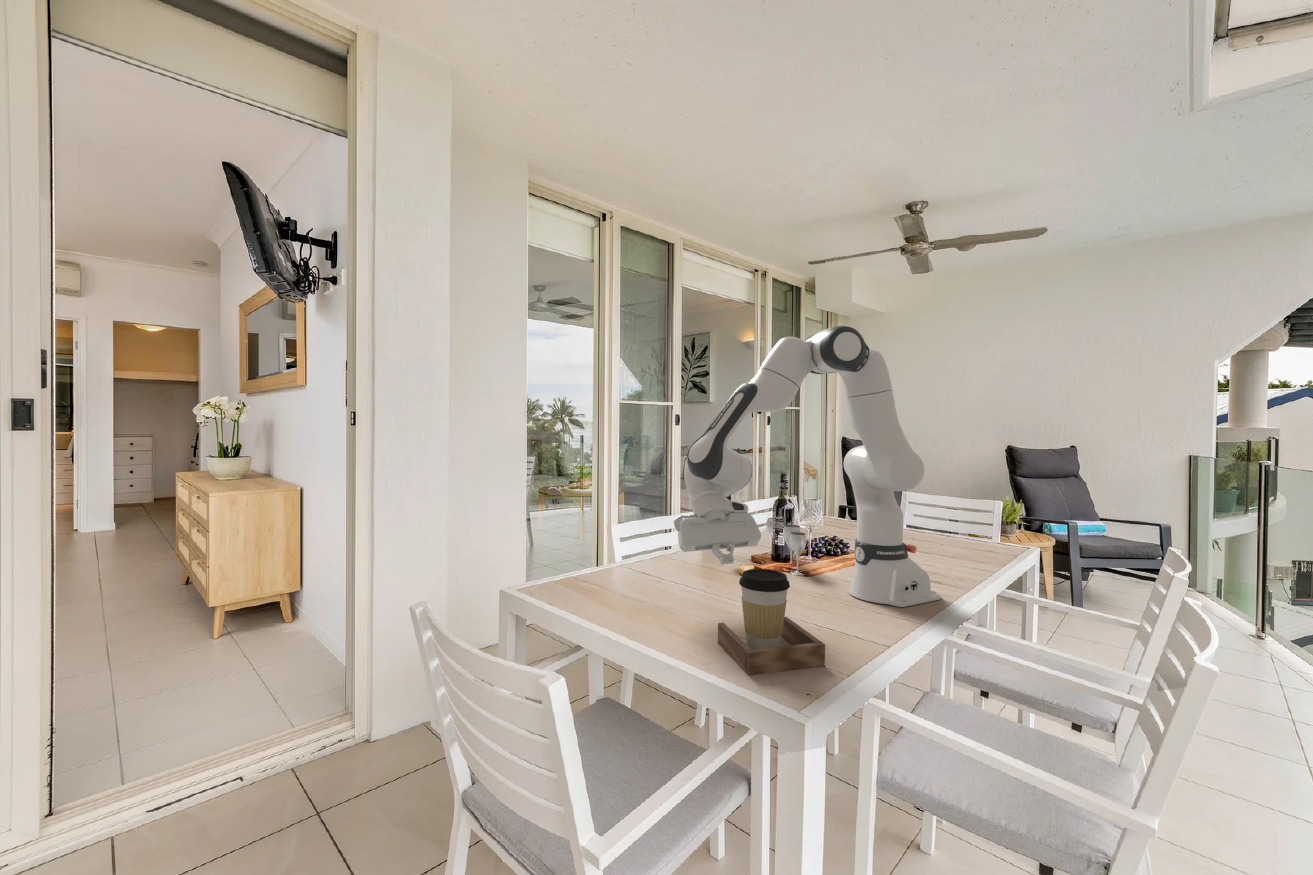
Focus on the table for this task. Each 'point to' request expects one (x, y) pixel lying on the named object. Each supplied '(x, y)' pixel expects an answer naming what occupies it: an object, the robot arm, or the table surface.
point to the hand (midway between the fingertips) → (727, 562)
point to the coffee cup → (763, 606)
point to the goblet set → (791, 540)
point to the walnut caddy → (775, 650)
